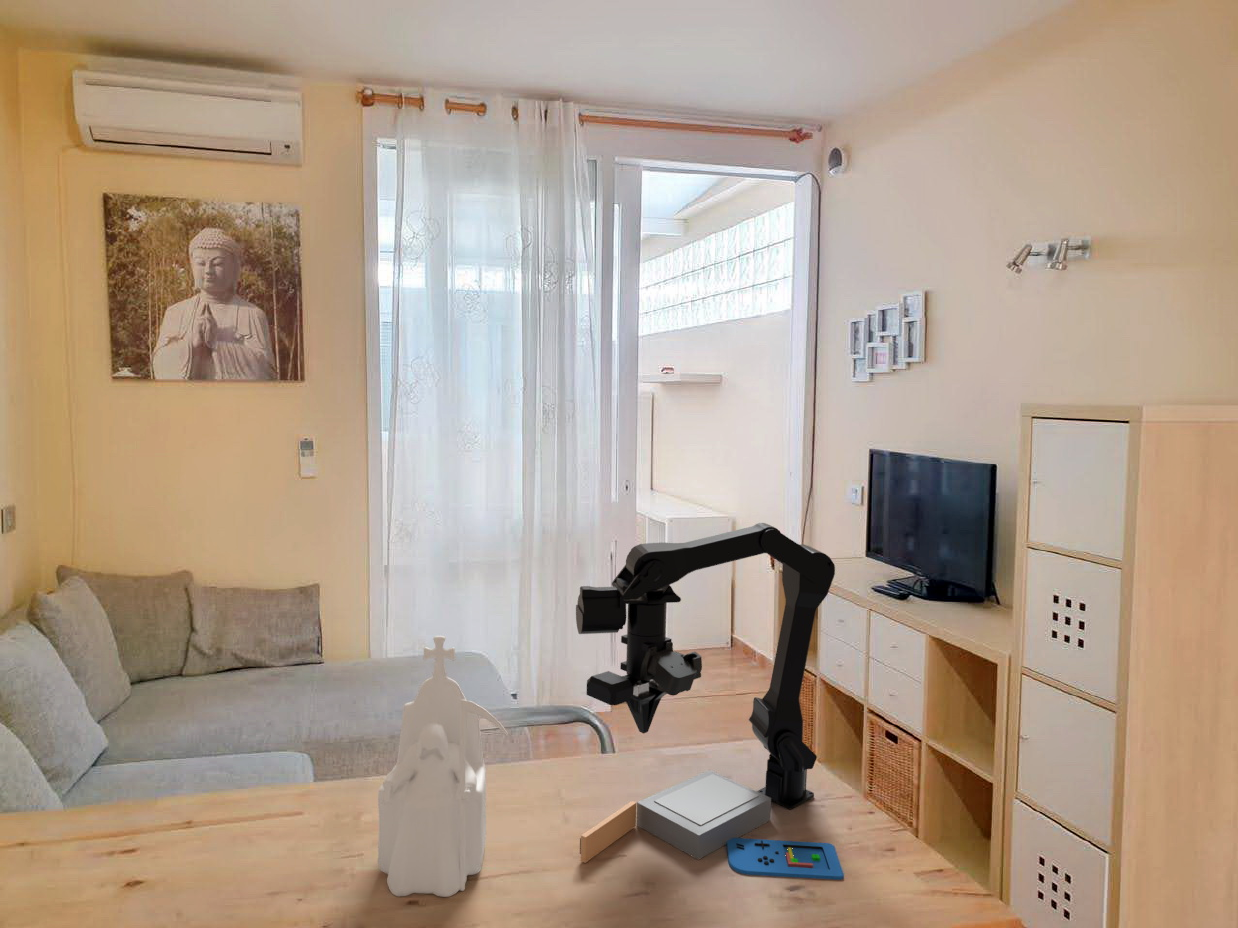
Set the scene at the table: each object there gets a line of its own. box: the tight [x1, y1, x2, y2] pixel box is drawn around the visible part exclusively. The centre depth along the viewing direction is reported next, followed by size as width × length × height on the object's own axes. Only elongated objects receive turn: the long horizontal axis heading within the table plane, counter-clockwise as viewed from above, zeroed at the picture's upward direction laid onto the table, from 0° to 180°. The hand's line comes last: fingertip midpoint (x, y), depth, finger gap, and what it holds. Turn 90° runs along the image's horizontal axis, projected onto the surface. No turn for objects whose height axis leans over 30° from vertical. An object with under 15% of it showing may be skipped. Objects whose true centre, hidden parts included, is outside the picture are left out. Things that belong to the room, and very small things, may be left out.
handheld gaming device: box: [726, 837, 845, 881], centre depth 120 cm, size 8×1×15 cm
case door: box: [579, 800, 638, 863], centre depth 123 cm, size 1×12×4 cm, turn 145°
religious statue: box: [377, 635, 509, 898], centre depth 114 cm, size 17×14×30 cm
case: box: [636, 769, 772, 860], centre depth 129 cm, size 16×12×4 cm
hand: (643, 732), depth 132 cm, fingers closed
